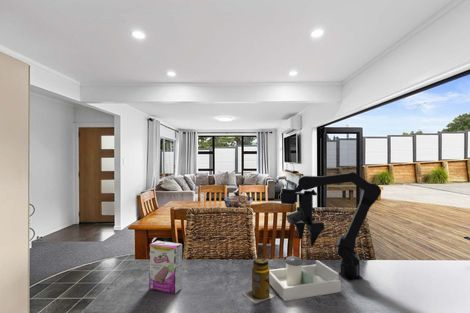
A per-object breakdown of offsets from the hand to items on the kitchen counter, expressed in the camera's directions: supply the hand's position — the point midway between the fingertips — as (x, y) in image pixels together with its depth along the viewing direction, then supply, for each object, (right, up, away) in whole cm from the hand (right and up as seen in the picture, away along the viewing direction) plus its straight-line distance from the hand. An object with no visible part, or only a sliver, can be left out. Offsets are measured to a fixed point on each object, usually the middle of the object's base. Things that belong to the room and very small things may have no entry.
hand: (306, 241), depth 108 cm
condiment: (-22, -12, -21) cm, 33 cm away
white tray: (-5, -12, -14) cm, 19 cm away
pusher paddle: (-4, -10, -14) cm, 18 cm away
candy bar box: (-56, -12, -16) cm, 59 cm away
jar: (-9, -11, -15) cm, 20 cm away
